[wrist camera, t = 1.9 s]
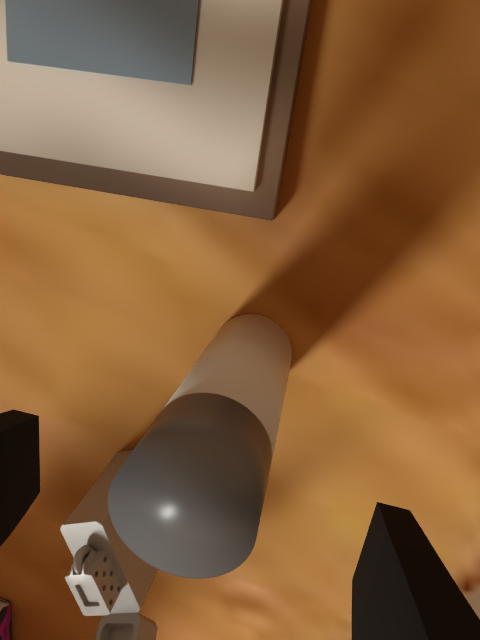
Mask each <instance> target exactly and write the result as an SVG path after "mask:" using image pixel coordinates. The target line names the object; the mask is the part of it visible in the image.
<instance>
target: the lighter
mask: <svg viewBox="0 0 480 640" xmlns="http://www.w3.org/2000/svg"><path fill="white" fill-rule="evenodd" d="M132 451H133V450H128V451H121V452H118V453H117V454H116V455H115V457H114V458H113V459H112V461H111V462H110V463H109V465H108V466H107V467H106V469H105V470H104V471H103V472H102V474H101V475H100V476H99V478H98V479H97V480H96V482H95V483H94V484H93V485H92V487H91V488H90V489H89V491H88V492H87V493H86V495H85V496H84V497H83V499H82V500H81V501H80V502H79V504H78V505H77V506H76V508H75V509H74V510H73V512H72V513H71V514H70V516H69V517H68V518H67V519H66V521H65V522H64V523H63V525H62V526H61V528H60V531H61V533H62V535H63V537H64V539H65V541H66V543H67V545H68V547H69V549H70V551H71V553H72V555H73V557H74V559H73V564H72V565H71V568H70V570H69V571H68V573H67V574H66V576H65V577H64V578H65V580H66V582H67V584H68V586H69V588H70V590H71V592H72V594H73V596H74V598H75V600H76V602H77V604H78V606H79V608H80V610H81V612H82V614H83V615H85V616H100V615H104V616H103V617H102V618H101V619H100V620H99V625H98V629H97V633H96V637H95V640H156V633H157V625H156V624H155V622H154V621H152V620H150V619H148V618H146V617H145V616H143V615H141V614H139V613H138V612H139V610H140V609H141V606H142V604H143V602H144V599H145V597H146V595H147V592H148V590H149V588H150V586H151V583H152V581H153V579H154V576H155V574H156V572H157V568H155V567H153V566H151V565H150V564H148V563H146V562H145V561H143V560H142V559H141V558H139V557H138V556H137V555H136V554H135V553H133V552H132V551H131V550H130V549H129V548H128V547H127V546H126V544H125V543H124V542H123V541H122V539H121V538H120V536H119V535H118V533H117V532H116V530H115V528H114V526H113V523H112V521H111V518H110V514H109V509H108V493H109V489H110V485H111V482H112V480H113V478H114V476H115V475H116V474H117V472H118V471H119V469H120V468H121V467H122V465H123V464H124V462H125V461H126V460H127V458H128V457H129V455H130V454H131V453H132Z"/></svg>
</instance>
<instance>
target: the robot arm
mask: <svg viewBox="0 0 480 640" xmlns="http://www.w3.org/2000/svg"><path fill="white" fill-rule="evenodd" d="M39 493H40V460H39V416H37V415H33V414H29V413H25V412H21V411H17V410H11V411H7V412H4V413H0V546H1V545H2V544H3V543H4V541H5V540H6V539H7V538H8V537H9V536H10V534H11V533H12V531H13V530H14V529H15V527H16V526H17V525H18V523H19V522H20V520H21V519H22V518H23V516H24V515H25V513H26V512H27V510H28V509H29V507H30V506H31V504H32V503H33V502H34V500H35V499H36V497H37V496H38V494H39ZM352 640H480V620H479V618H478V616H477V615H476V613H475V612H474V610H473V609H472V607H471V606H470V604H469V603H468V601H467V600H466V598H465V597H464V595H463V594H462V592H461V591H460V589H459V588H458V586H457V585H456V583H455V581H454V580H453V578H452V577H451V575H450V574H449V572H448V570H447V569H446V567H445V566H444V564H443V563H442V561H441V559H440V558H439V556H438V555H437V553H436V551H435V550H434V548H433V547H432V545H431V543H430V542H429V540H428V538H427V537H426V535H425V534H424V532H423V530H422V529H421V527H420V526H419V524H418V522H417V521H416V519H415V518H414V516H413V515H412V513H411V511H410V510H406V509H402V508H399V507H395V506H391V505H387V504H383V503H379V502H377V505H376V508H375V511H374V514H373V517H372V520H371V523H370V526H369V529H368V533H367V536H366V539H365V542H364V545H363V548H362V551H361V554H360V558H359V561H358V564H357V567H356V570H355V573H354V576H353V579H352Z"/></svg>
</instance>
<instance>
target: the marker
mask: <svg viewBox="0 0 480 640" xmlns="http://www.w3.org/2000/svg"><path fill="white" fill-rule="evenodd" d="M291 360H292V347H291V343H290V340H289V338H288V336H287V334H286V332H285V331H284V330H283V329H282V327H281V326H280V325H278V324H277V323H276V322H275V321H273V320H271V319H269V318H267V317H265V316H261V315H257V314H244V315H240V316H237V317H234V318H232V319H230V320H229V321H227V322H226V323H225V324H224V325H223V326H222V327H221V329H220V330H219V331H218V333H217V334H216V335H215V337H214V338H213V340H212V341H211V342H210V344H209V345H208V347H207V348H206V349H205V351H204V352H203V354H202V355H201V356H200V358H199V359H198V361H197V362H196V363H195V365H194V366H193V368H192V369H191V370H190V372H189V373H188V375H187V376H186V377H185V379H184V380H183V381H182V383H181V384H180V386H179V387H178V388H177V390H176V391H175V393H174V394H173V395H172V397H171V398H170V400H169V401H168V402H167V404H166V405H165V407H164V408H163V409H162V411H161V412H160V414H159V415H158V416H157V418H156V419H155V421H154V422H153V423H152V425H151V426H150V428H149V429H148V430H147V432H146V433H145V435H144V436H143V437H142V439H141V440H140V442H139V443H138V444H137V446H136V447H135V448H134V450H133V451H132V453H131V454H130V455H129V457H128V458H127V460H126V461H125V462H124V464H123V465H122V467H121V468H120V469H119V471H118V472H117V474H116V475H115V476H114V478H113V480H112V482H111V485H110V489H109V493H108V509H109V514H110V518H111V521H112V523H113V526H114V528H115V530H116V532H117V533H118V535H119V536H120V538H121V539H122V541H123V542H124V543H125V544H126V546H127V547H128V548H129V549H130V550H131V551H132V552H133V553H135V554H136V555H137V556H138V557H139V558H141V559H142V560H143V561H145V562H146V563H148V564H150V565H151V566H153V567H155V568H157V569H159V570H161V571H164V572H166V573H169V574H172V575H176V576H180V577H185V578H196V579H203V578H212V577H217V576H220V575H223V574H226V573H228V572H230V571H232V570H234V569H235V568H237V567H238V566H240V565H241V564H242V563H243V562H244V561H245V560H246V559H247V557H248V556H249V555H250V553H251V551H252V549H253V547H254V544H255V541H256V537H257V532H258V527H259V522H260V517H261V512H262V507H263V502H264V497H265V491H266V486H267V481H268V476H269V471H270V466H271V461H272V456H273V451H274V446H275V441H276V436H277V431H278V426H279V421H280V416H281V411H282V406H283V401H284V396H285V391H286V385H287V380H288V375H289V370H290V365H291Z"/></svg>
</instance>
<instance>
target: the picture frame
mask: <svg viewBox="0 0 480 640" xmlns="http://www.w3.org/2000/svg"><path fill="white" fill-rule="evenodd" d="M311 3H312V0H0V174H2V175H7V176H13V177H19V178H25V179H31V180H37V181H43V182H49V183H54V184H60V185H66V186H72V187H78V188H84V189H90V190H96V191H101V192H107V193H113V194H119V195H125V196H131V197H137V198H143V199H148V200H154V201H160V202H166V203H172V204H178V205H184V206H190V207H195V208H201V209H207V210H213V211H219V212H225V213H231V214H237V215H242V216H248V217H254V218H260V219H266V220H274V219H275V215H276V209H277V204H278V198H279V192H280V186H281V180H282V174H283V168H284V162H285V156H286V150H287V144H288V139H289V133H290V127H291V121H292V115H293V109H294V103H295V97H296V91H297V85H298V80H299V74H300V68H301V62H302V56H303V50H304V44H305V38H306V32H307V26H308V20H309V15H310V9H311Z"/></svg>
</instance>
